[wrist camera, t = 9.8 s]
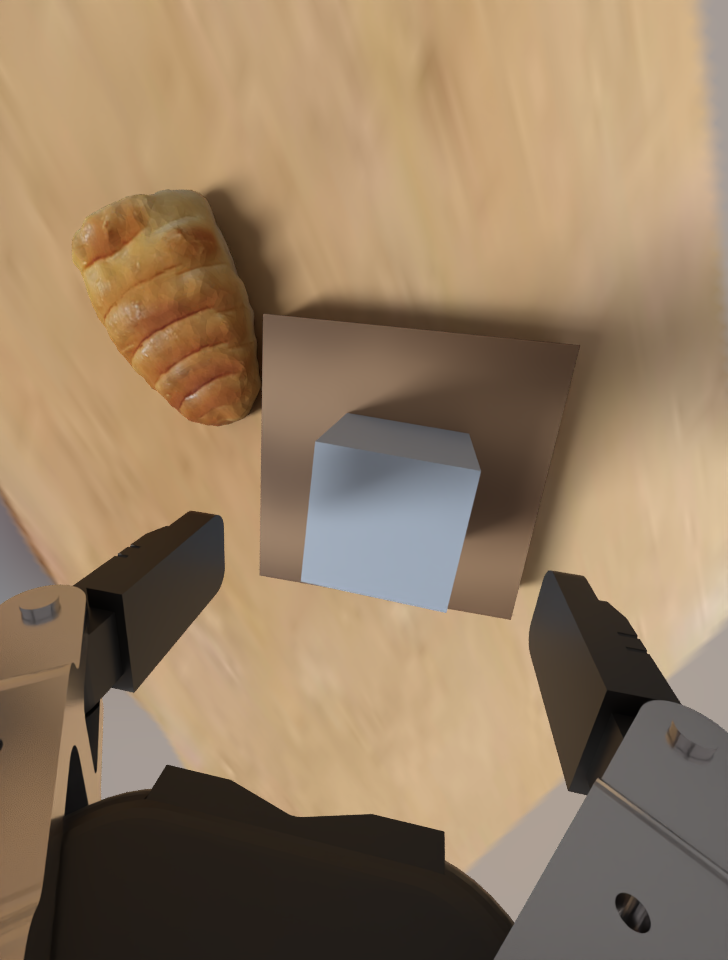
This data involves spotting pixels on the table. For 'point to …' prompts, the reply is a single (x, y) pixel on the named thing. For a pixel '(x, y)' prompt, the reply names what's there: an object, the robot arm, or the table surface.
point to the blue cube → (389, 510)
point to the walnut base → (421, 401)
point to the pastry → (173, 301)
